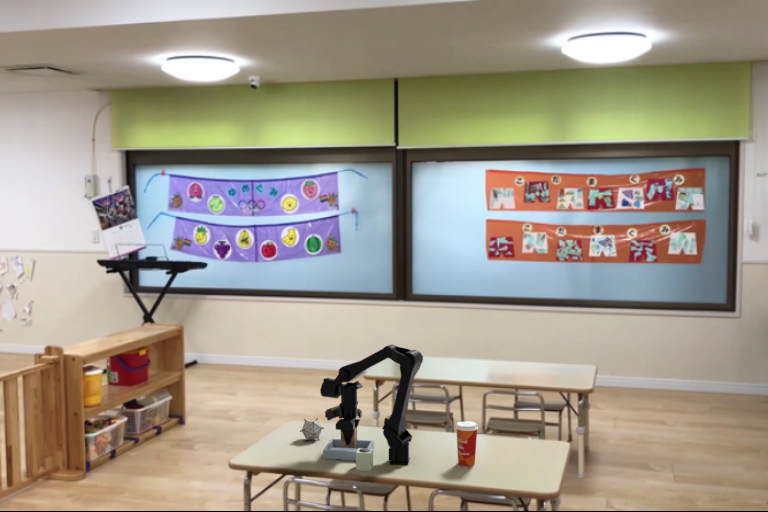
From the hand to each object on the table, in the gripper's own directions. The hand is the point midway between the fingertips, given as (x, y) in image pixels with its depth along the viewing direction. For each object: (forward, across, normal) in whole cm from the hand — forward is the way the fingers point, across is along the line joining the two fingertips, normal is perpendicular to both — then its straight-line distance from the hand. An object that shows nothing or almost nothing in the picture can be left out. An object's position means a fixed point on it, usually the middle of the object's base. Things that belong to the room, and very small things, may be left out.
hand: (349, 442), depth 271 cm
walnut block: (+1, 0, 0) cm, 1 cm away
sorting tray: (+4, 0, 0) cm, 4 cm away
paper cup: (+4, +5, +42) cm, 42 cm away
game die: (+4, -14, -17) cm, 22 cm away
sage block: (+4, +14, +8) cm, 17 cm away
